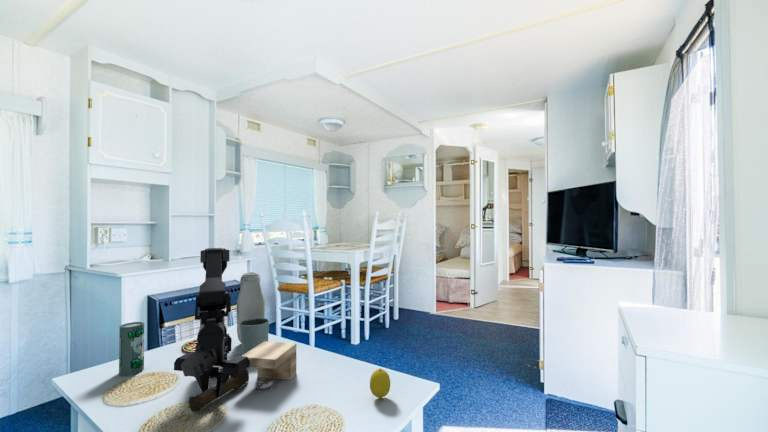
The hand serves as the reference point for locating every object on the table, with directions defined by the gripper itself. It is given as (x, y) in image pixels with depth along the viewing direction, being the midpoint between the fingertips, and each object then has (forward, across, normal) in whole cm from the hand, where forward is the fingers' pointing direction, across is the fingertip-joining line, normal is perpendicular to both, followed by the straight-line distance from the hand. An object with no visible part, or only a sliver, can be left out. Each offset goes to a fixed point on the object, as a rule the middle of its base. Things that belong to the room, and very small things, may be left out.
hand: (212, 396), depth 89 cm
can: (+2, -39, +12) cm, 41 cm away
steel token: (+2, +9, +10) cm, 14 cm away
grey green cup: (+2, -8, +32) cm, 33 cm away
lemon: (+2, +43, +10) cm, 44 cm away
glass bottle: (+2, -16, +42) cm, 45 cm away
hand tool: (+2, 0, +4) cm, 4 cm away
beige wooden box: (+2, +9, +14) cm, 16 cm away
